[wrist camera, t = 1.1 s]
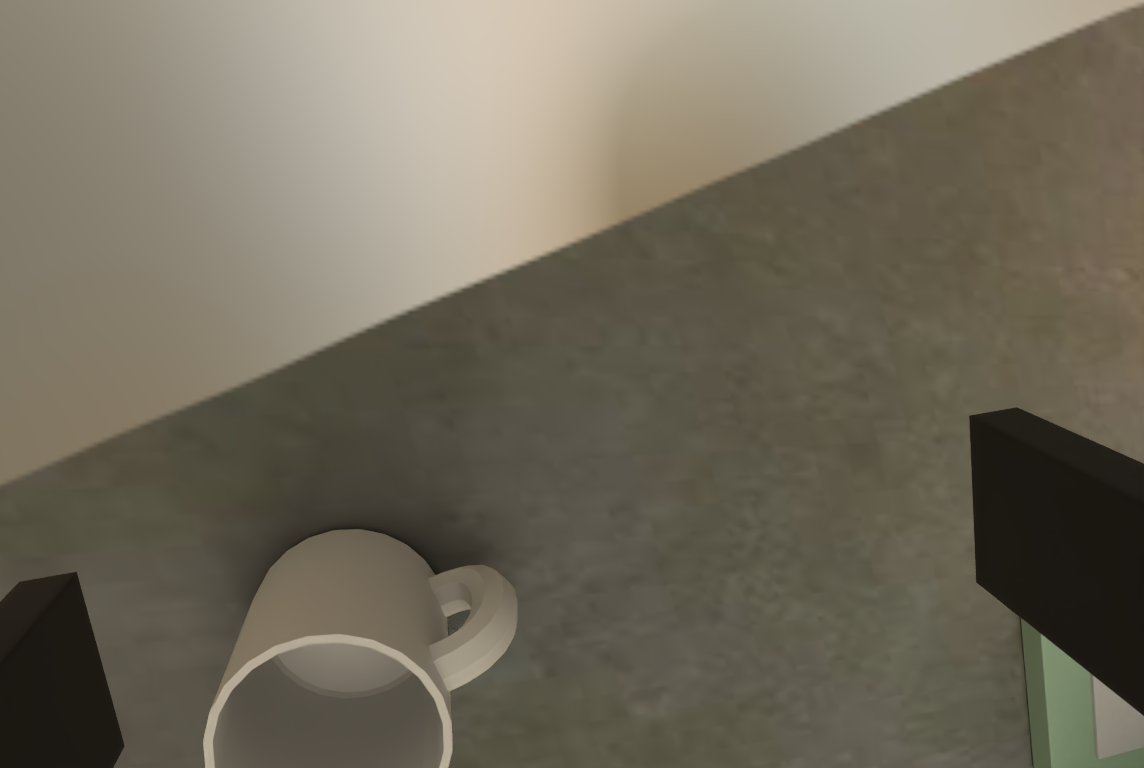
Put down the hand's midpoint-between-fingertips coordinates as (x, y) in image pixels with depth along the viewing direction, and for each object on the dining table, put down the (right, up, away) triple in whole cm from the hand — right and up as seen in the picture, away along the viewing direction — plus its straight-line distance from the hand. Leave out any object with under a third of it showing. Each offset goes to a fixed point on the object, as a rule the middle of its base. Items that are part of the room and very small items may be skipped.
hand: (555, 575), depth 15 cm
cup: (-7, -5, +24) cm, 26 cm away
